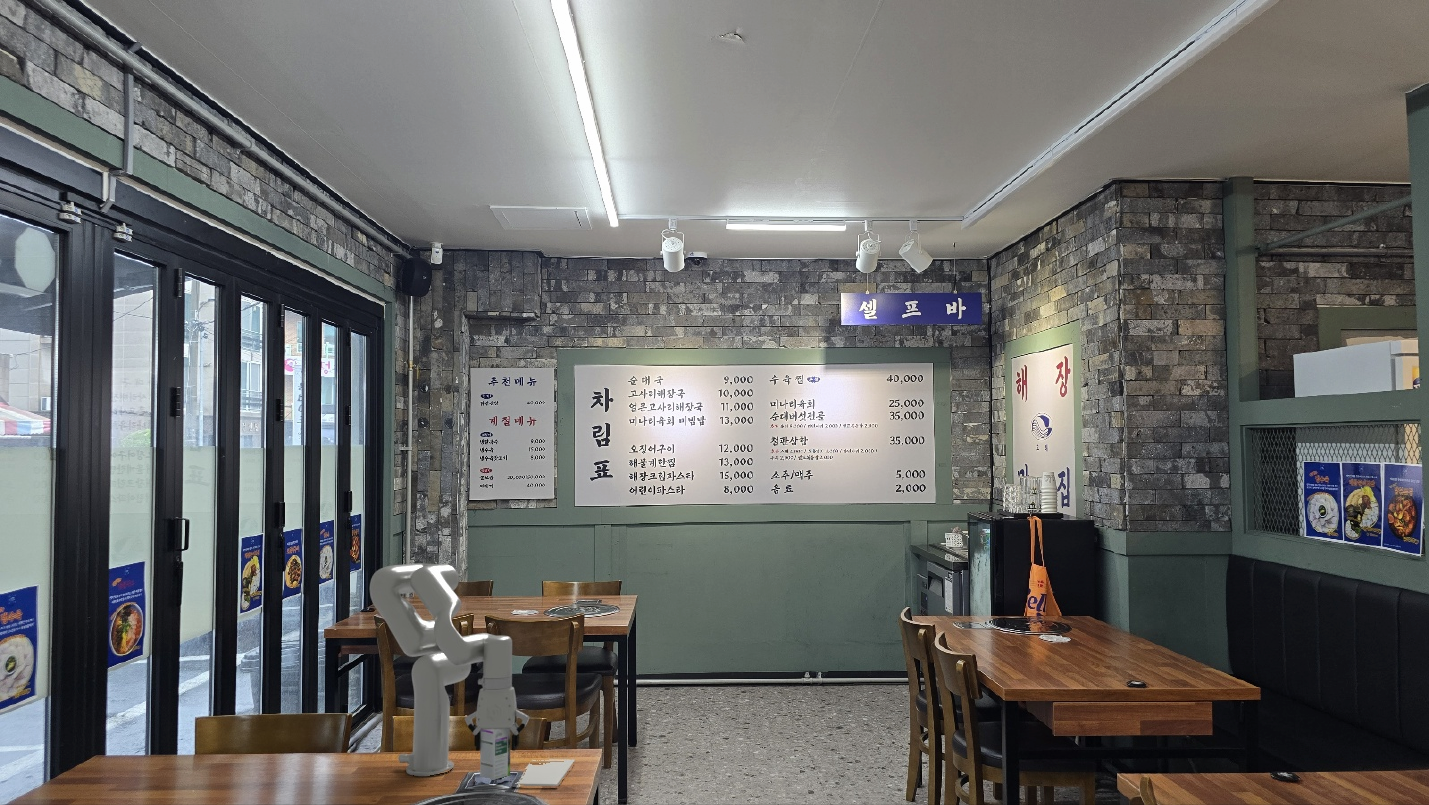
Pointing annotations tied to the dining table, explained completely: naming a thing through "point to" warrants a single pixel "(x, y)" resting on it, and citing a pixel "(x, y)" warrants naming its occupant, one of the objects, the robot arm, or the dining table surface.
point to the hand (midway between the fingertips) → (496, 749)
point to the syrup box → (495, 753)
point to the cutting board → (546, 773)
